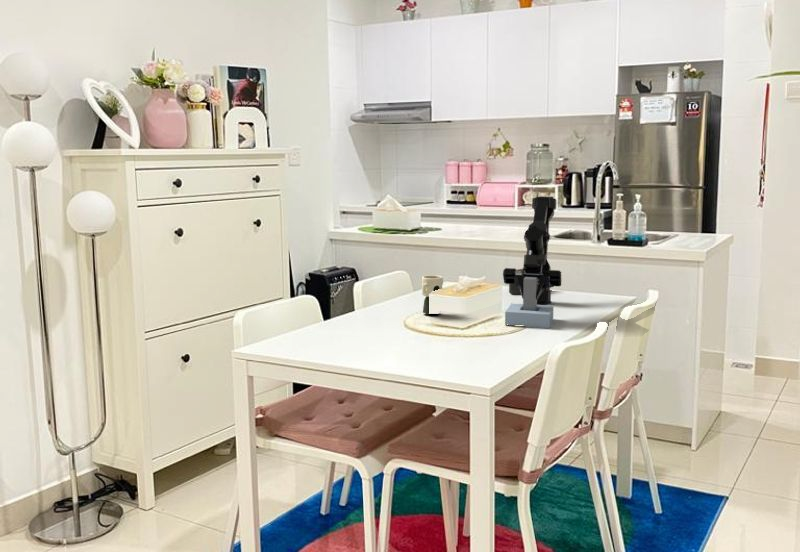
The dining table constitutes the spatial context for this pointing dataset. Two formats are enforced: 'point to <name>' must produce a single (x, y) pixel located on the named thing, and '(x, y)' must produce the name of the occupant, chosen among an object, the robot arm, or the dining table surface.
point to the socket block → (529, 316)
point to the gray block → (530, 293)
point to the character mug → (430, 288)
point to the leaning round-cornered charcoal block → (515, 287)
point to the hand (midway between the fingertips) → (529, 298)
